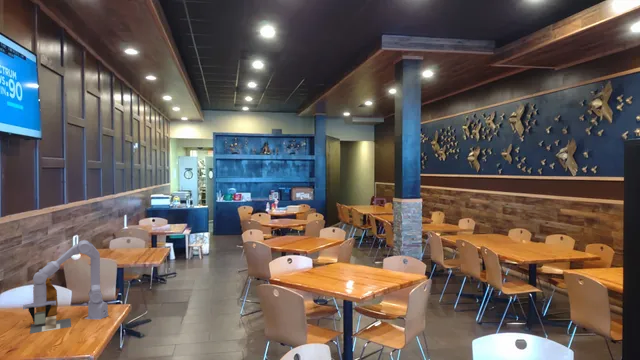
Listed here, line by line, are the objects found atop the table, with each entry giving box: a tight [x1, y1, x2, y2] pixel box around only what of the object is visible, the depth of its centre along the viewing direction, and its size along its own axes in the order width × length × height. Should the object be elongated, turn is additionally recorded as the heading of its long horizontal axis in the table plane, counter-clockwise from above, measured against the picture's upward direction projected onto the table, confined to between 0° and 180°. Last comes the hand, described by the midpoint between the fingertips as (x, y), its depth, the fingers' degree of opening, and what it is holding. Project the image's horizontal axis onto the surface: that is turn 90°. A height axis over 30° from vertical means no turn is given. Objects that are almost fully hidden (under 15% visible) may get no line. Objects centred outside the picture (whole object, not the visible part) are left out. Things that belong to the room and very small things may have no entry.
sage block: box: [34, 311, 46, 325], centre depth 221 cm, size 5×5×5 cm
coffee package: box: [35, 277, 59, 317], centre depth 238 cm, size 10×12×22 cm
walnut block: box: [45, 315, 57, 330], centre depth 217 cm, size 5×5×5 cm
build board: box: [29, 318, 72, 335], centre depth 220 cm, size 18×15×1 cm
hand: (40, 320), depth 221 cm, fingers closed on sage block, 5 cm apart
